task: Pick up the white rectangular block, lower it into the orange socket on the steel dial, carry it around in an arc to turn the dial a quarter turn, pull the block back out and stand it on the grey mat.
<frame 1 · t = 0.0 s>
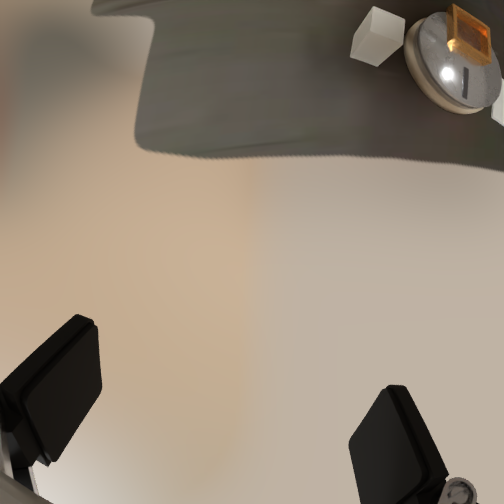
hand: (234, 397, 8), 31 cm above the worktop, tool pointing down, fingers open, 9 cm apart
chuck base: (447, 65, 30), on the worktop
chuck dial: (464, 57, 25), point 5 cm above the worktop, hinge at 0.0°
white rectangular block: (365, 50, 31), on the worktop
key mat: (503, 102, 30), on the worktop
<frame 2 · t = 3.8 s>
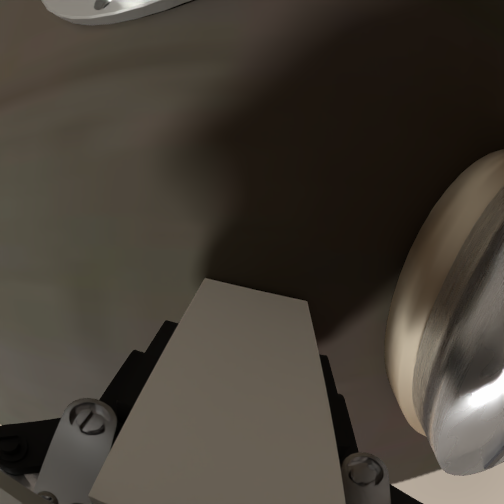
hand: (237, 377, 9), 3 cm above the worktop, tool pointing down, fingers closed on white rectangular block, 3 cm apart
white rectangular block: (245, 333, 12), on the worktop, touching gripper
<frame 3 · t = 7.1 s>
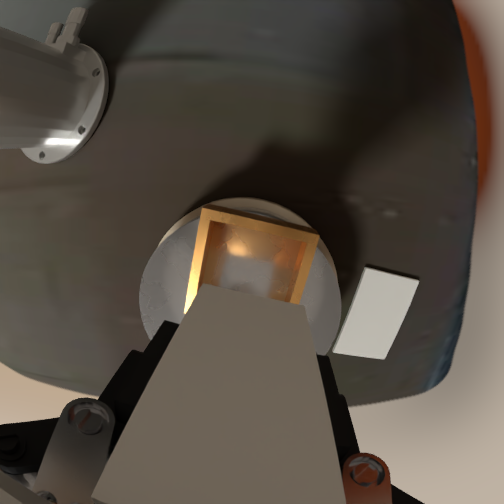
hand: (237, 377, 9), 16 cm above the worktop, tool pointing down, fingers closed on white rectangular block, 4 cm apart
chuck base: (242, 288, 26), on the worktop
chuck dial: (238, 314, 22), point 5 cm above the worktop, hinge at 0.0°
white rectangular block: (243, 338, 12), point 14 cm above the worktop, touching gripper
key mat: (375, 316, 26), on the worktop
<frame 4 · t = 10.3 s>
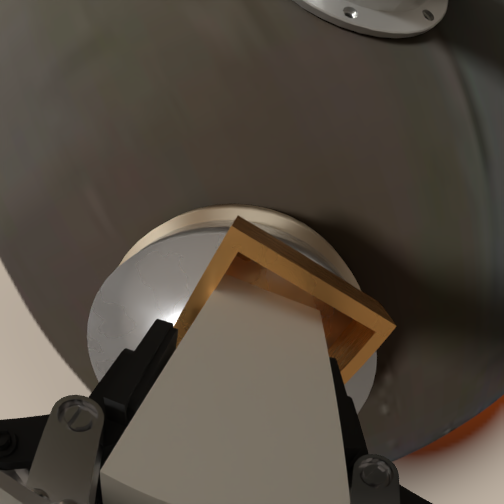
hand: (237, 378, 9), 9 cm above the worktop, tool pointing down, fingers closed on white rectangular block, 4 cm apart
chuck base: (235, 331, 19), on the worktop
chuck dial: (225, 379, 14), point 5 cm above the worktop, hinge at 44.7°, touching white rectangular block
white rectangular block: (254, 333, 12), point 6 cm above the worktop, touching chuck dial, gripper
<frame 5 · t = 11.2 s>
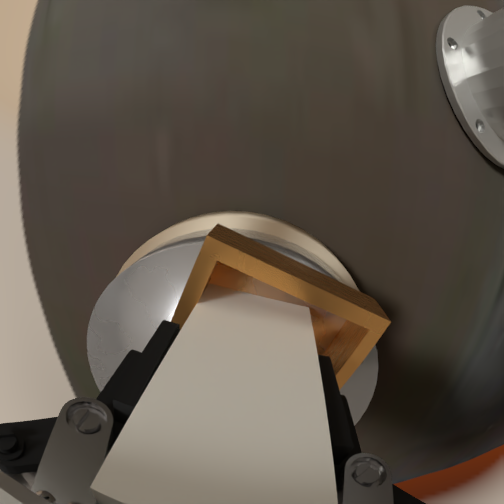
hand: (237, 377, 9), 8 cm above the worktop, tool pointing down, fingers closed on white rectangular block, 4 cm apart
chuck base: (235, 338, 18), on the worktop
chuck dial: (225, 387, 14), point 5 cm above the worktop, hinge at 77.9°, touching white rectangular block
white rectangular block: (248, 338, 12), point 6 cm above the worktop, touching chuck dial, gripper
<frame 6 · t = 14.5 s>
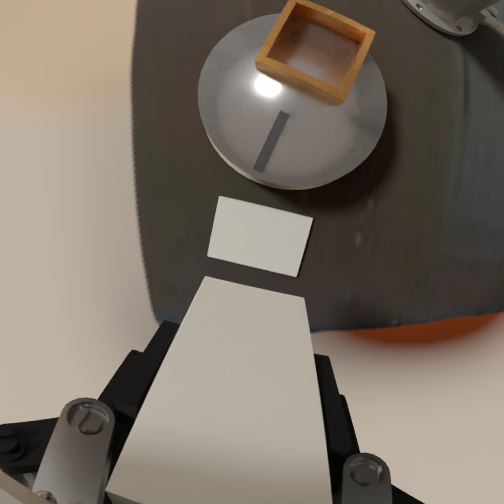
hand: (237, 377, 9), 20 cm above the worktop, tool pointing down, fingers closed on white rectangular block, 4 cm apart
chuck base: (290, 105, 25), on the worktop
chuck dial: (294, 92, 20), point 5 cm above the worktop, hinge at 78.7°
white rectangular block: (244, 328, 12), point 17 cm above the worktop, touching gripper
key mat: (259, 236, 29), on the worktop
when the fingers open (4 cm above the worktop, at t = 17.6 s): white rectangular block stays where it is, resting on key mat.
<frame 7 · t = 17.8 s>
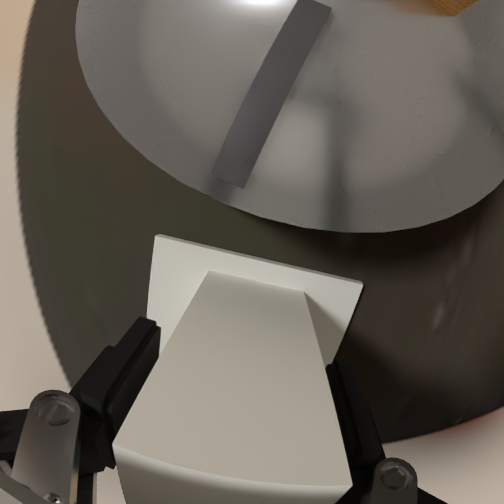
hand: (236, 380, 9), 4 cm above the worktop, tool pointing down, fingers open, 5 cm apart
white rectangular block: (246, 322, 13), resting on key mat
key mat: (245, 320, 13), on the worktop
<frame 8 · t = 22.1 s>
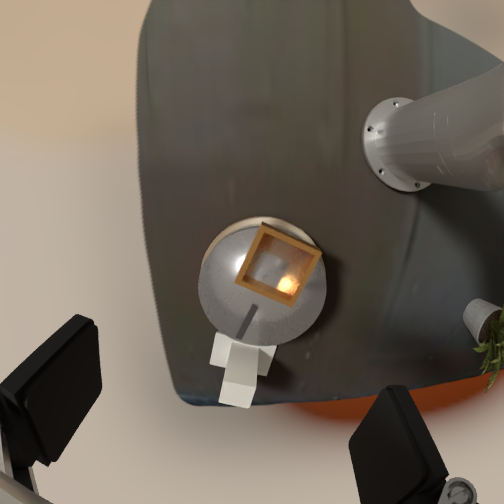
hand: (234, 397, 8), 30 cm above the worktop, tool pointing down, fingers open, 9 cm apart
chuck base: (263, 276, 39), on the worktop
house plant: (469, 308, 39), on the worktop
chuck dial: (262, 290, 35), point 5 cm above the worktop, hinge at 78.7°
white rectangular block: (242, 355, 43), resting on key mat
key mat: (242, 354, 43), on the worktop
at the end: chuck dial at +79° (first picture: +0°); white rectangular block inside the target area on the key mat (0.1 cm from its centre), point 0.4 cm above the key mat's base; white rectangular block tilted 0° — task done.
